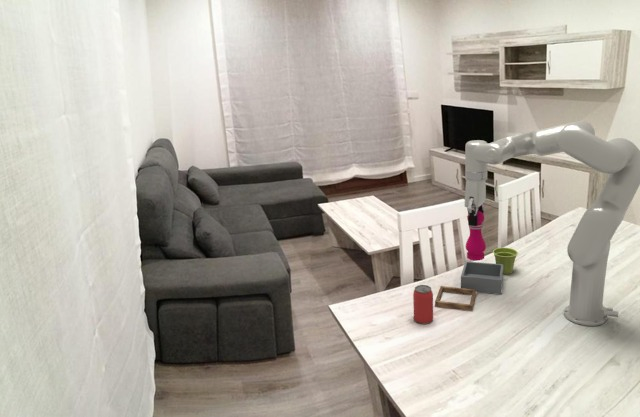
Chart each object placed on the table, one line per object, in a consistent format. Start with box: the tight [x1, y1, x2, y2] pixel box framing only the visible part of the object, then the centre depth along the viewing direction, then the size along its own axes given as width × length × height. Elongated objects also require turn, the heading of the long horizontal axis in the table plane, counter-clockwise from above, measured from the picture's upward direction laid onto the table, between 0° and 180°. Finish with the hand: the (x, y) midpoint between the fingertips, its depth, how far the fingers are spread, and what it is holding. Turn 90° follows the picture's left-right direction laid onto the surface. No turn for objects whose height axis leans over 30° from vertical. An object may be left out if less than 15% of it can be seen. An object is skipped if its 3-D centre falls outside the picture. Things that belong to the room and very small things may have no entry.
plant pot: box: [492, 247, 519, 275], centre depth 197 cm, size 9×9×9 cm
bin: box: [460, 260, 504, 295], centre depth 188 cm, size 15×15×6 cm
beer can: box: [412, 284, 434, 325], centre depth 166 cm, size 7×7×12 cm
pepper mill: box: [465, 208, 487, 262], centre depth 179 cm, size 7×7×20 cm
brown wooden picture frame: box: [434, 285, 477, 312], centre depth 178 cm, size 13×13×2 cm
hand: (475, 222), depth 178 cm, fingers closed on pepper mill, 6 cm apart
